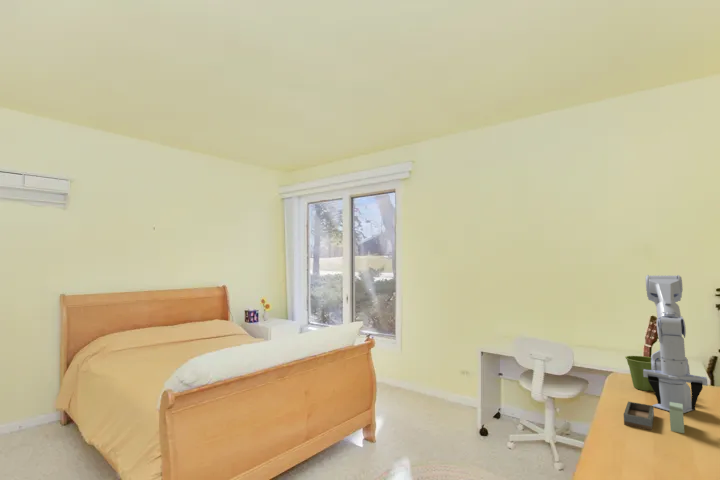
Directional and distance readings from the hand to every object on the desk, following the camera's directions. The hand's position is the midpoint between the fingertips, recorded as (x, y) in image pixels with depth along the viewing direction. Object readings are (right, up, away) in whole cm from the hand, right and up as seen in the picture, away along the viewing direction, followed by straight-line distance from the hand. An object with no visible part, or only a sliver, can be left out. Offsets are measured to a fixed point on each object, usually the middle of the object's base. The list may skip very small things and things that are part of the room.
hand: (676, 405), depth 113 cm
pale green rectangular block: (0, -6, 0) cm, 6 cm away
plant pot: (+17, -9, +35) cm, 40 cm away
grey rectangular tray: (-7, -7, +5) cm, 11 cm away
